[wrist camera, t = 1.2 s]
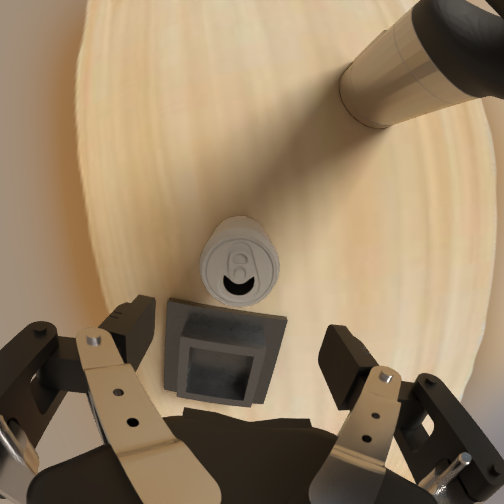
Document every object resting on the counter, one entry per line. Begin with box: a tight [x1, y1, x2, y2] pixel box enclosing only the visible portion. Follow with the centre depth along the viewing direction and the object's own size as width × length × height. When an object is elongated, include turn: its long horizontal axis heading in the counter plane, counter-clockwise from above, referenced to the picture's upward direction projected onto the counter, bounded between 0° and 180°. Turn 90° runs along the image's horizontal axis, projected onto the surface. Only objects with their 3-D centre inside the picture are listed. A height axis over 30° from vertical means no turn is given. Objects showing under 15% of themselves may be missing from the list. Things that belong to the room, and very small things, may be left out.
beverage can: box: [199, 216, 280, 307], centre depth 26 cm, size 6×6×12 cm
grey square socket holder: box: [164, 298, 287, 407], centre depth 33 cm, size 15×15×4 cm
